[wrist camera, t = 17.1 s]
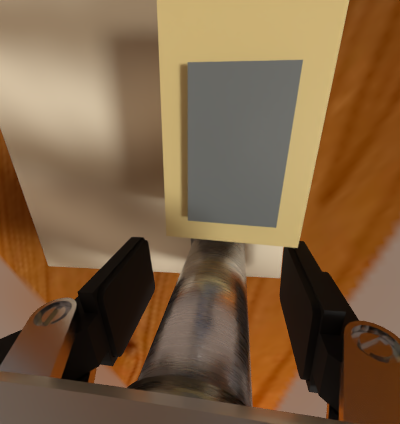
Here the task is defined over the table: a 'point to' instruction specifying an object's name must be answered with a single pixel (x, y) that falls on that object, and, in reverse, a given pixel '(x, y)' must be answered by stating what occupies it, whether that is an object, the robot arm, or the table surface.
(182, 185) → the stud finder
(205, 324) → the steel pin
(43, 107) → the white square mat
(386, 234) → the table surface
